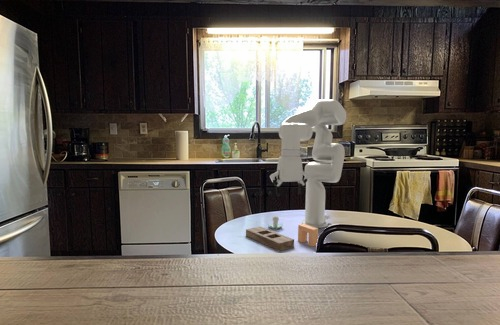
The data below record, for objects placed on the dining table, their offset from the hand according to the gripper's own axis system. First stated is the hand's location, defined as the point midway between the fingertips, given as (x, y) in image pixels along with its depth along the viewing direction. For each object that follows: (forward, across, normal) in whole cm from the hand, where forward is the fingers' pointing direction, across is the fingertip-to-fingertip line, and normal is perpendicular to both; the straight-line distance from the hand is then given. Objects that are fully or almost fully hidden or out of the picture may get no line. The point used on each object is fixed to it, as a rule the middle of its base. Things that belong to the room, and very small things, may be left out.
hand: (289, 195), depth 137 cm
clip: (+20, -8, +2) cm, 22 cm away
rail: (+20, +7, -4) cm, 22 cm away
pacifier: (+21, -2, -22) cm, 30 cm away
